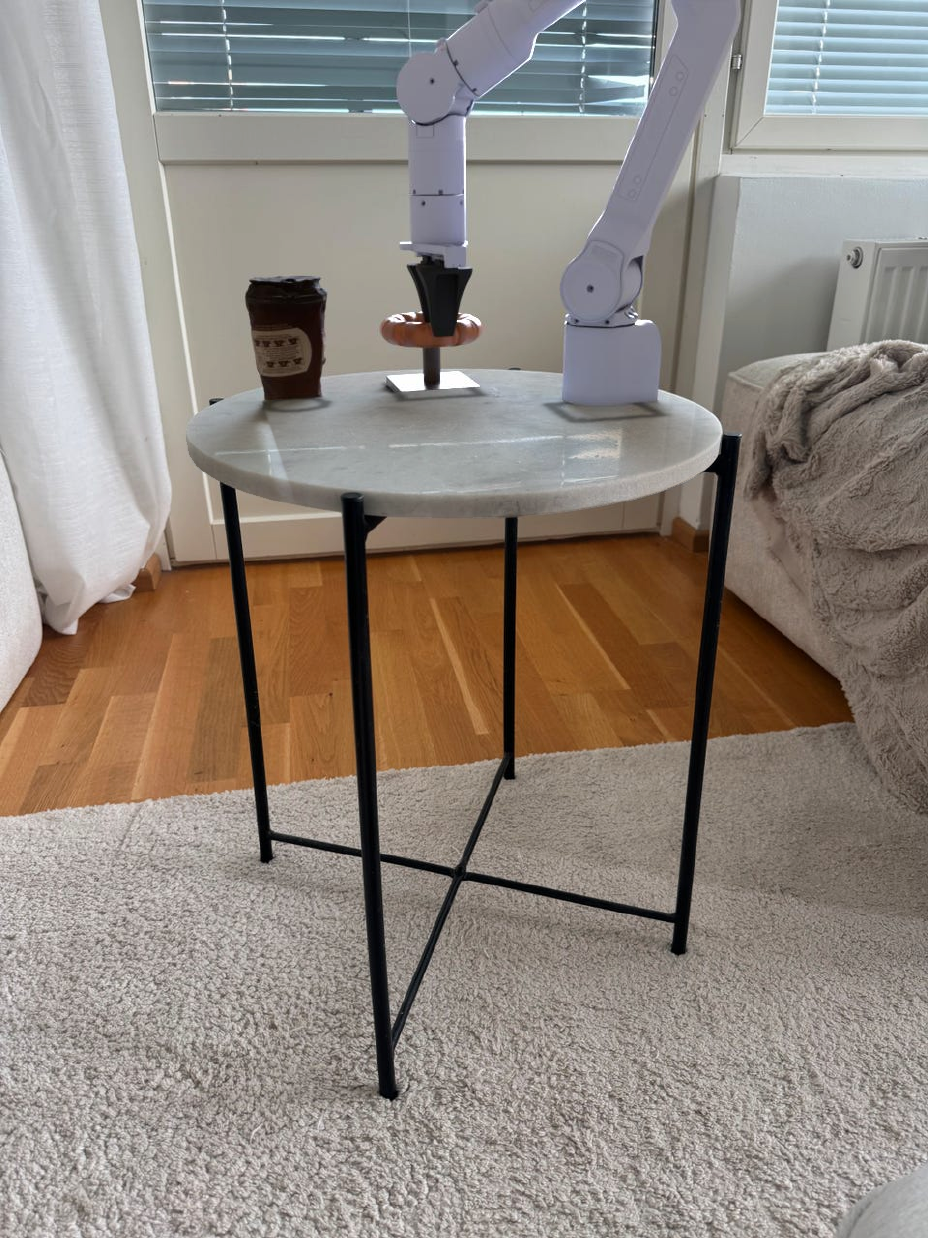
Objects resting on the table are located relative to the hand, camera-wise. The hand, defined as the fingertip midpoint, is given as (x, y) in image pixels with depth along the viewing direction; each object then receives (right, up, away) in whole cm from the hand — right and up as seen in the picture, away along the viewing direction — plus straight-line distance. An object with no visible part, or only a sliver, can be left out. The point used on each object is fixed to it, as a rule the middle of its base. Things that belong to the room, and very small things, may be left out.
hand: (439, 333), depth 99 cm
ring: (-1, +2, +4) cm, 4 cm away
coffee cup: (-16, -8, 0) cm, 18 cm away
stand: (-1, -4, +7) cm, 8 cm away
